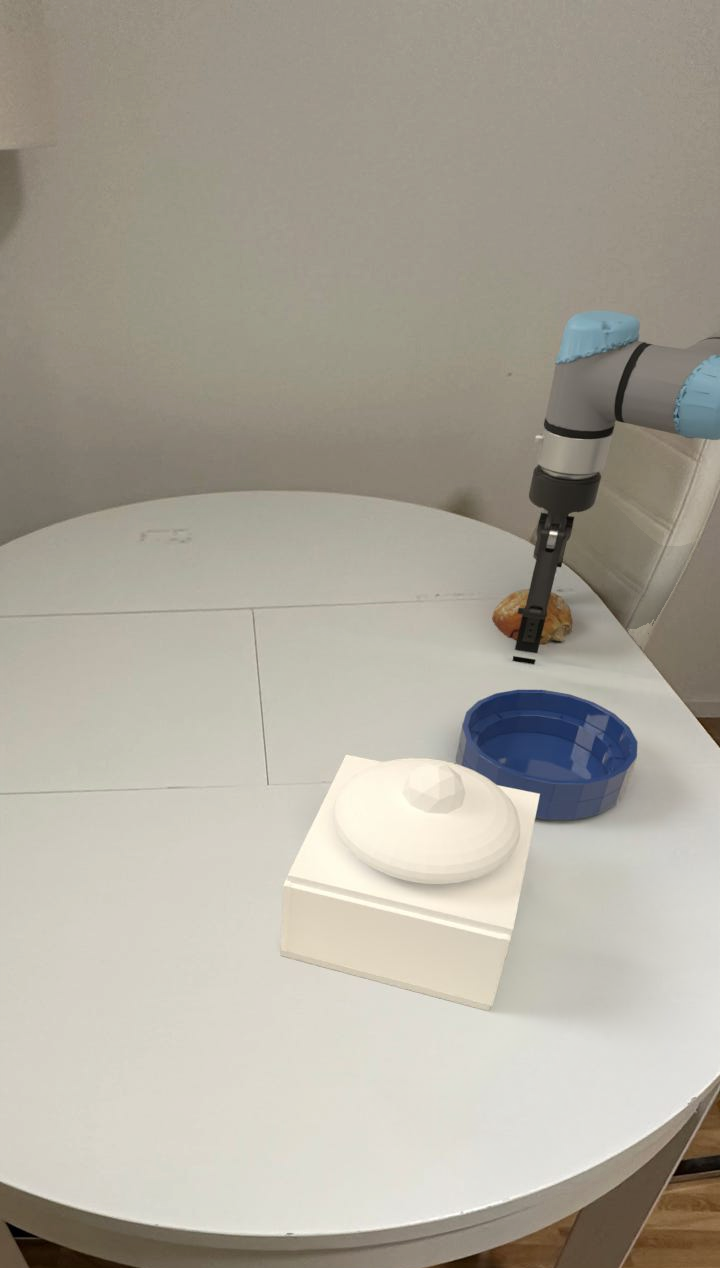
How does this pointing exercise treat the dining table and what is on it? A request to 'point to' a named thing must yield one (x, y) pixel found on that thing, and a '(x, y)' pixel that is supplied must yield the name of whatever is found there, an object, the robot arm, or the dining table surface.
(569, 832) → the dining table surface
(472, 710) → the bowl
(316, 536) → the dining table surface
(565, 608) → the bread roll
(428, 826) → the white lidded square jar
